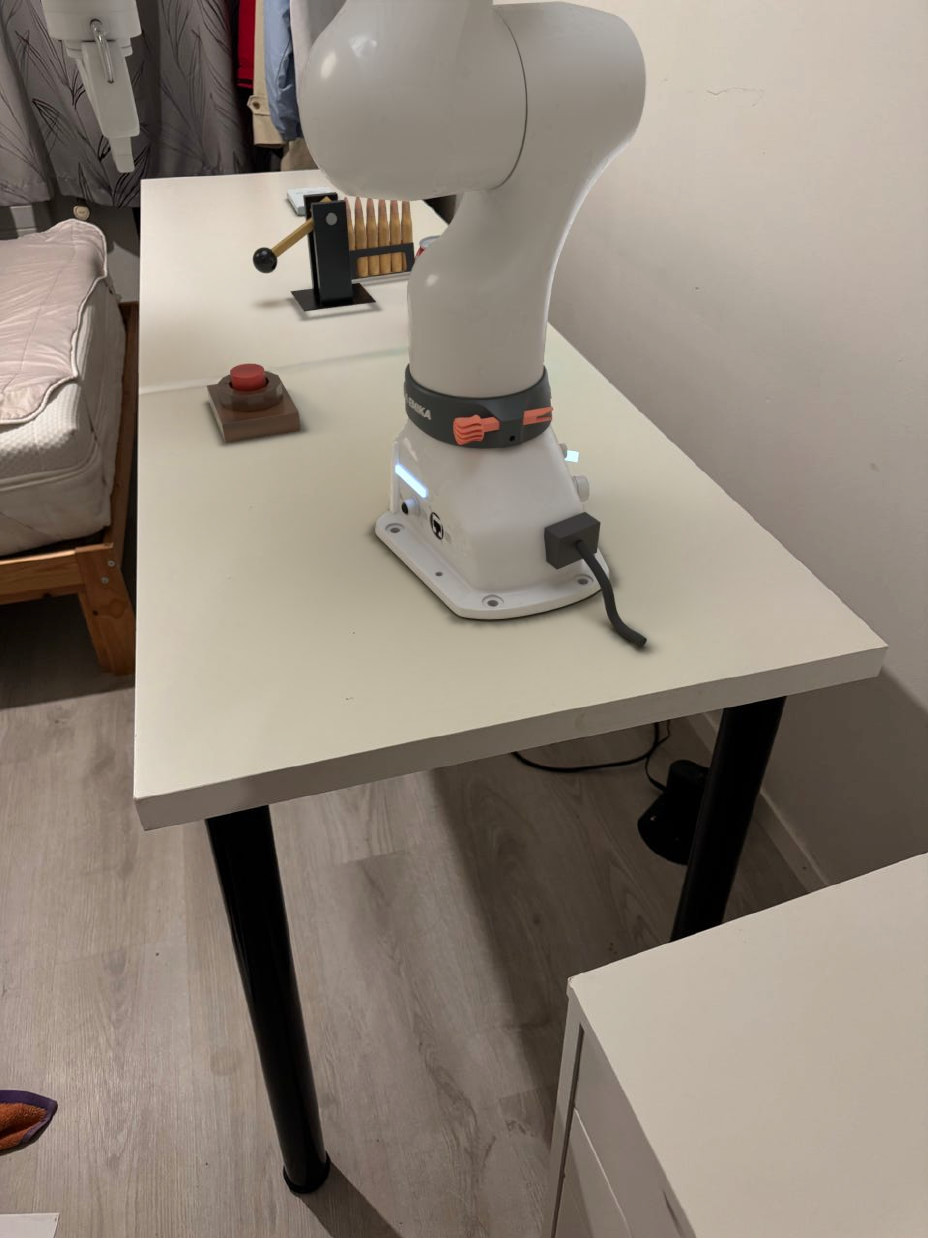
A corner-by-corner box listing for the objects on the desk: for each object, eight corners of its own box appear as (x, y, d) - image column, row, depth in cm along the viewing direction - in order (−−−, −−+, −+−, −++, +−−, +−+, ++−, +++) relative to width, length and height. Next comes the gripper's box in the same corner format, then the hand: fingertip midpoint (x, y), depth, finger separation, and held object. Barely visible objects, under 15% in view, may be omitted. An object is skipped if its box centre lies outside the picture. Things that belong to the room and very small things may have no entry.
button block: (301, 430, 95) (296, 395, 93) (225, 443, 93) (219, 408, 91) (280, 392, 103) (276, 359, 100) (209, 403, 100) (203, 369, 98)
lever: (265, 281, 117) (250, 261, 115) (260, 273, 120) (245, 254, 118) (344, 220, 117) (330, 198, 114) (337, 213, 119) (323, 192, 117)
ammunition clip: (347, 287, 130) (341, 198, 122) (343, 283, 131) (336, 195, 123) (416, 277, 133) (414, 190, 125) (411, 274, 134) (409, 187, 127)
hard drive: (298, 216, 158) (287, 197, 167) (343, 212, 160) (330, 194, 169) (297, 206, 157) (285, 188, 166) (343, 202, 158) (329, 185, 168)
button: (269, 390, 95) (267, 374, 94) (235, 395, 94) (233, 379, 93) (262, 376, 97) (260, 361, 96) (229, 381, 96) (226, 366, 95)
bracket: (305, 319, 120) (293, 209, 111) (291, 299, 126) (279, 193, 117) (376, 309, 123) (370, 202, 114) (360, 290, 129) (353, 187, 120)
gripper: (135, 25, 82) (166, 187, 91) (116, 4, 97) (144, 145, 106) (63, 28, 80) (101, 193, 89) (54, 6, 95) (88, 150, 104)
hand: (124, 167), depth 98 cm, fingers closed
